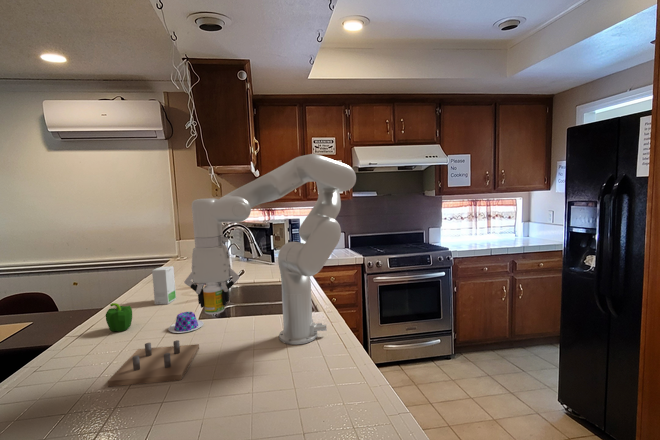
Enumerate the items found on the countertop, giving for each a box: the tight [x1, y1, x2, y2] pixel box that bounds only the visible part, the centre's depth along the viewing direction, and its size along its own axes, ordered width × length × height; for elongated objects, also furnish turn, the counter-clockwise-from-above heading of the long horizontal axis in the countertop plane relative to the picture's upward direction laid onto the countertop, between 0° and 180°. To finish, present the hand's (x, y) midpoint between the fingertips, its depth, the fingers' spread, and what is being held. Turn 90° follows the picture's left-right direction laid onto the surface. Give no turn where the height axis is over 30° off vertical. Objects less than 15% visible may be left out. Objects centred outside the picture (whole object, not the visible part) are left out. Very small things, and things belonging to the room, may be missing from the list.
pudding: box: [167, 311, 205, 334], centre depth 126 cm, size 12×12×5 cm
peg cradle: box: [107, 340, 200, 387], centre depth 98 cm, size 18×18×5 cm
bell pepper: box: [105, 302, 133, 332], centre depth 125 cm, size 8×8×10 cm
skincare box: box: [151, 265, 177, 305], centre depth 156 cm, size 8×7×16 cm
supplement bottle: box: [203, 282, 225, 315], centre depth 98 cm, size 5×5×10 cm
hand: (214, 304), depth 99 cm, fingers closed on supplement bottle, 5 cm apart
